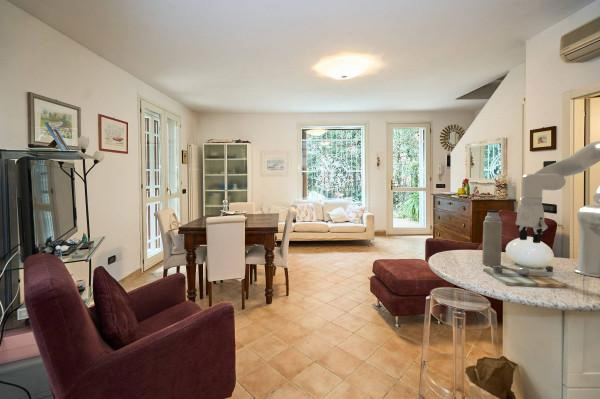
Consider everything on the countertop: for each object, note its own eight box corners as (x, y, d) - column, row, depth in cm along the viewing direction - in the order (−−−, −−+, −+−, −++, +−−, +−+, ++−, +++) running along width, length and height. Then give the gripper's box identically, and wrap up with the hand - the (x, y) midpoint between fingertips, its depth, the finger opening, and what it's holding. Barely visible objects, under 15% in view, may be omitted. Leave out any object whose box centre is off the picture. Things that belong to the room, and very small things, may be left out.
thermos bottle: (479, 262, 156) (480, 209, 155) (495, 262, 156) (497, 209, 154) (487, 266, 148) (488, 211, 147) (504, 267, 148) (506, 211, 146)
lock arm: (521, 276, 128) (521, 266, 128) (516, 273, 132) (517, 264, 132) (555, 277, 126) (555, 267, 126) (549, 275, 130) (549, 265, 130)
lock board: (534, 272, 138) (534, 263, 138) (565, 287, 118) (566, 277, 118) (483, 270, 141) (483, 262, 141) (505, 284, 122) (506, 274, 121)
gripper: (508, 200, 141) (506, 238, 142) (541, 202, 124) (539, 245, 125) (522, 200, 142) (521, 237, 143) (557, 202, 125) (555, 245, 126)
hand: (529, 240), depth 134 cm, fingers open, 6 cm apart
